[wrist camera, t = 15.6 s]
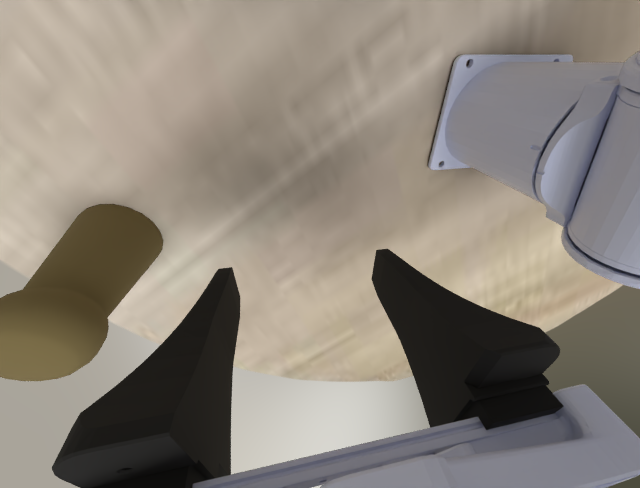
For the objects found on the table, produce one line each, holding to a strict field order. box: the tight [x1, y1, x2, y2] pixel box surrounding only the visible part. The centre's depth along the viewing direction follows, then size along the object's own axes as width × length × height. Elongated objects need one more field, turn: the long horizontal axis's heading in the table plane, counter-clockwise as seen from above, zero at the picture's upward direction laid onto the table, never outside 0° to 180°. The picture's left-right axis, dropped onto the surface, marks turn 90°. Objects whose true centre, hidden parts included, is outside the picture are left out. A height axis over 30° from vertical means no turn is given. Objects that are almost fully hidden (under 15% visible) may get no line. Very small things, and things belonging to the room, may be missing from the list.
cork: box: [0, 204, 163, 381], centre depth 16 cm, size 6×6×11 cm
